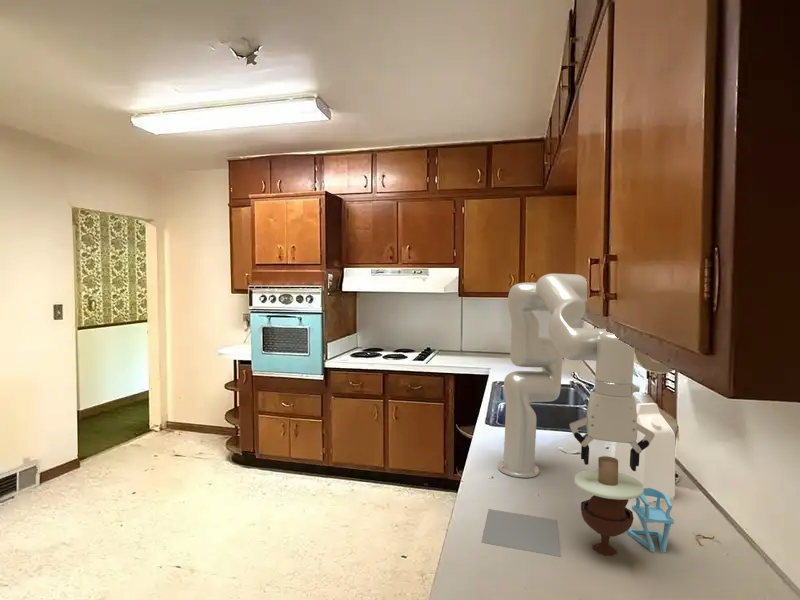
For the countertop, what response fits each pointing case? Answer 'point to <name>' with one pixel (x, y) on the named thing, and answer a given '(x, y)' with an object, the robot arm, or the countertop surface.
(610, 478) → the lid
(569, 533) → the countertop surface
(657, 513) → the chair
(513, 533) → the mat
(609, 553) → the ice cream bowl
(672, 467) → the milk
